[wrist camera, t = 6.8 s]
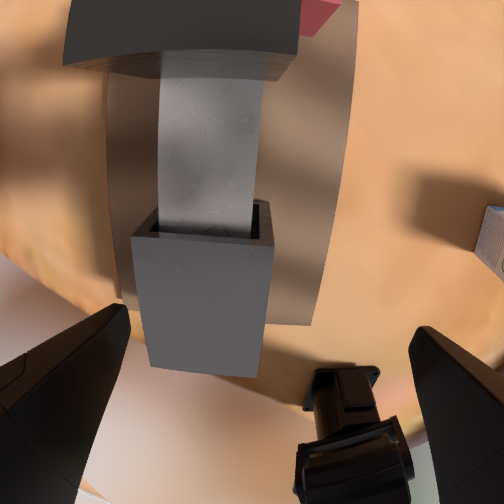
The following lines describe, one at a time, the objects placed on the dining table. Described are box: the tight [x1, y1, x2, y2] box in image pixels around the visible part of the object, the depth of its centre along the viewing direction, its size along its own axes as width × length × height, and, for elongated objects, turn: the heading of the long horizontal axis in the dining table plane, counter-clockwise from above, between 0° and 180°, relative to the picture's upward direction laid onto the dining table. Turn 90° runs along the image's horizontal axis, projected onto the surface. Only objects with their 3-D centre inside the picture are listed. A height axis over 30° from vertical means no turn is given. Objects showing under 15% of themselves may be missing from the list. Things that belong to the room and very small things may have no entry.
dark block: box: [62, 0, 302, 239], centre depth 10 cm, size 14×5×10 cm, turn 175°
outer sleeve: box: [130, 200, 275, 378], centre depth 17 cm, size 8×6×6 cm
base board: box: [106, 0, 359, 326], centre depth 17 cm, size 22×14×1 cm, turn 175°
